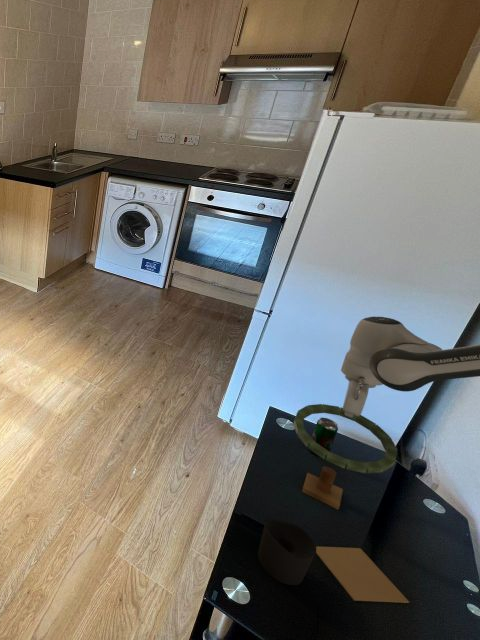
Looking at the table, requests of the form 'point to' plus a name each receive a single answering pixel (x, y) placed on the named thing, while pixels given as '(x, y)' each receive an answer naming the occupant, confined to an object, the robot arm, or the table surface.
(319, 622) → the table surface
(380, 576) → the mat
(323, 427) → the soda can
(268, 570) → the pen holder
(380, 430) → the ring
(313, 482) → the peg stand
